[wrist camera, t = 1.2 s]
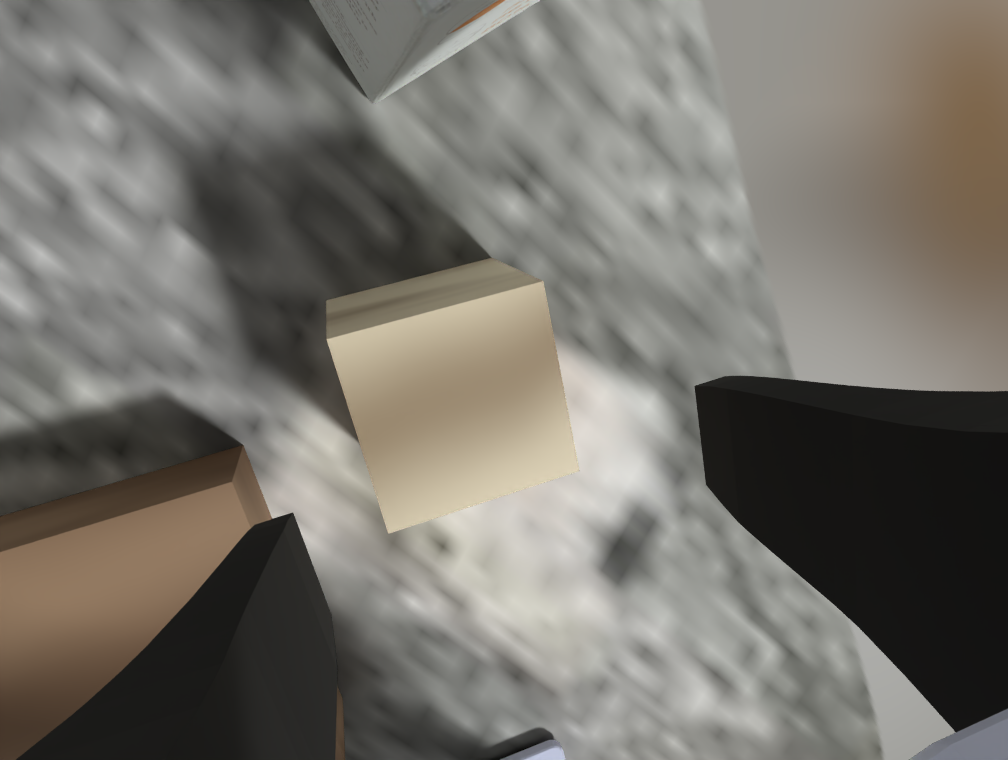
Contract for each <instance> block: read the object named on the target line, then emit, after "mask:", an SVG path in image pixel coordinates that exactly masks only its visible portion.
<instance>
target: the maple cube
mask: <svg viewBox="0 0 1008 760" xmlns="http://www.w3.org/2000/svg"><path fill="white" fill-rule="evenodd" d="M326 337H327V342H328V346H329V349H330V352H331V355H332V358H333V361H334V364H335V368H336V371H337V374H338V377H339V380H340V383H341V386H342V389H343V393H344V396H345V399H346V402H347V405H348V408H349V411H350V415H351V418H352V421H353V424H354V427H355V430H356V433H357V437H358V440H359V443H360V446H361V449H362V452H363V455H364V458H365V462H366V465H367V468H368V471H369V474H370V477H371V480H372V484H373V487H374V490H375V493H376V496H377V499H378V502H379V506H380V509H381V512H382V515H383V518H384V521H385V524H386V528H387V531H388V534H389V533H392V532H395V531H398V530H401V529H404V528H407V527H410V526H413V525H416V524H419V523H422V522H425V521H428V520H432V519H435V518H438V517H441V516H444V515H447V514H450V513H453V512H456V511H459V510H462V509H465V508H468V507H471V506H474V505H477V504H480V503H483V502H486V501H490V500H493V499H496V498H499V497H502V496H505V495H508V494H511V493H514V492H517V491H520V490H523V489H526V488H529V487H532V486H535V485H538V484H541V483H544V482H548V481H551V480H554V479H557V478H560V477H563V476H566V475H569V474H572V473H575V472H578V471H579V466H578V461H577V456H576V450H575V445H574V440H573V435H572V429H571V424H570V419H569V414H568V408H567V403H566V398H565V393H564V387H563V382H562V377H561V372H560V367H559V361H558V356H557V351H556V346H555V340H554V335H553V330H552V325H551V319H550V314H549V309H548V304H547V299H546V293H545V288H544V283H543V281H542V280H539V279H537V278H535V277H533V276H531V275H528V274H526V273H524V272H522V271H520V270H517V269H515V268H513V267H511V266H509V265H506V264H504V263H502V262H500V261H498V260H496V259H493V258H489V259H485V260H481V261H477V262H473V263H469V264H466V265H462V266H458V267H454V268H450V269H446V270H442V271H438V272H435V273H431V274H427V275H423V276H419V277H415V278H411V279H407V280H403V281H400V282H396V283H392V284H388V285H384V286H380V287H376V288H372V289H369V290H365V291H361V292H357V293H353V294H349V295H345V296H341V297H338V298H334V299H330V300H326Z"/></svg>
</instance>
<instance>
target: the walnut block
mask: <svg viewBox="0 0 1008 760" xmlns="http://www.w3.org/2000/svg"><path fill="white" fill-rule="evenodd" d="M271 519H272V517H271V515H270V512H269V510H268V507H267V505H266V502H265V499H264V497H263V494H262V492H261V489H260V487H259V484H258V482H257V479H256V476H255V474H254V471H253V469H252V466H251V464H250V461H249V459H248V456H247V453H246V451H245V448H244V446H243V445H241V446H238V447H235V448H231V449H228V450H224V451H221V452H218V453H214V454H211V455H207V456H204V457H201V458H197V459H194V460H190V461H187V462H184V463H180V464H177V465H173V466H170V467H167V468H163V469H160V470H156V471H153V472H150V473H146V474H143V475H139V476H136V477H133V478H129V479H126V480H122V481H119V482H116V483H112V484H109V485H105V486H102V487H99V488H95V489H92V490H88V491H85V492H82V493H78V494H75V495H71V496H68V497H65V498H61V499H58V500H54V501H51V502H47V503H44V504H41V505H37V506H34V507H30V508H27V509H24V510H20V511H17V512H13V513H10V514H7V515H3V516H0V760H16V759H17V758H18V757H20V756H21V755H22V754H23V753H25V752H26V751H27V750H28V749H30V748H31V747H32V746H33V745H35V744H36V743H37V742H38V741H40V740H41V739H42V738H43V737H45V736H46V735H47V734H48V733H50V732H51V731H52V730H53V729H55V728H56V727H57V726H59V725H60V724H61V723H62V722H64V721H65V720H66V719H67V718H69V717H70V716H71V715H72V714H74V713H75V712H76V711H77V710H78V709H79V708H80V707H82V706H83V705H84V704H85V703H86V702H87V701H89V700H90V699H91V698H92V697H93V696H94V695H95V694H96V693H97V692H99V691H100V690H101V689H102V688H103V687H104V686H105V685H106V684H107V683H108V682H110V681H111V680H112V679H113V678H114V677H115V676H116V675H117V674H118V673H119V672H121V671H122V670H123V669H124V668H125V667H126V666H127V665H128V664H129V663H130V662H131V661H132V660H133V659H134V658H135V657H136V656H137V655H138V654H139V653H140V652H141V651H142V650H143V649H144V648H145V647H146V646H147V645H148V644H149V643H150V642H151V641H152V640H153V639H154V638H155V636H156V635H157V634H158V633H159V632H160V631H161V630H162V629H163V628H164V627H165V626H166V625H167V624H168V622H169V621H170V620H171V619H172V618H173V617H174V616H175V615H176V614H177V613H178V612H179V611H180V610H181V608H182V607H183V606H184V605H185V604H186V603H187V602H188V601H189V600H190V599H191V598H192V596H193V595H194V594H195V593H196V592H197V591H198V589H199V588H200V587H201V586H202V585H203V583H204V582H205V581H206V580H207V579H208V578H209V576H210V575H211V574H212V573H213V572H214V570H215V569H216V568H217V567H218V566H219V564H220V563H221V562H222V561H223V560H224V558H225V557H226V556H227V555H228V554H229V552H230V551H231V550H232V549H233V548H234V546H235V545H236V544H237V543H238V542H239V541H240V539H241V538H242V537H243V536H244V535H245V534H246V533H247V532H248V530H249V529H251V528H252V527H253V526H254V525H255V524H258V523H261V522H265V521H268V520H271ZM335 760H345V742H344V717H343V699H342V696H341V694H340V691H339V689H338V686H337V717H336V751H335Z"/></svg>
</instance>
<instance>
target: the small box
mask: <svg viewBox="0 0 1008 760" xmlns="http://www.w3.org/2000/svg"><path fill="white" fill-rule="evenodd" d="M538 1H540V0H309V2H310V3H311V5H312V7H313V8H314V10H315V12H316V13H317V15H318V17H319V18H320V20H321V22H322V23H323V25H324V27H325V28H326V30H327V32H328V33H329V35H330V37H331V38H332V40H333V42H334V43H335V45H336V47H337V48H338V50H339V51H340V53H341V55H342V56H343V58H344V60H345V61H346V63H347V65H348V66H349V68H350V70H351V71H352V73H353V74H354V76H355V78H356V79H357V81H358V82H359V84H360V86H361V87H362V89H363V90H364V92H365V94H366V95H367V97H368V99H369V100H370V101H371V102H372V103H375V104H376V103H378V102H380V101H381V100H383V99H384V98H386V97H387V96H389V95H390V94H392V93H393V92H395V91H396V90H398V89H400V88H401V87H403V86H405V85H406V84H408V83H409V82H411V81H413V80H414V79H416V78H417V77H419V76H420V75H422V74H424V73H425V72H427V71H428V70H430V69H431V68H433V67H435V66H436V65H438V64H439V63H441V62H443V61H444V60H446V59H447V58H449V57H450V56H452V55H454V54H455V53H457V52H458V51H460V50H462V49H463V48H465V47H466V46H468V45H469V44H471V43H473V42H474V41H476V40H477V39H479V38H481V37H482V36H484V35H485V34H487V33H488V32H490V31H492V30H493V29H495V28H496V27H498V26H500V25H501V24H503V23H504V22H506V21H508V20H509V19H511V18H512V17H514V16H516V15H517V14H519V13H521V12H522V11H524V10H525V9H527V8H529V7H530V6H532V5H533V4H535V3H537V2H538Z"/></svg>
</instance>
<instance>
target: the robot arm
mask: <svg viewBox="0 0 1008 760" xmlns="http://www.w3.org/2000/svg"><path fill="white" fill-rule="evenodd" d="M695 393H696V402H697V411H698V419H699V428H700V436H701V445H702V453H703V462H704V471H705V479H706V485H707V486H708V488H709V489H710V490H711V491H712V492H713V494H714V495H715V496H716V497H717V498H718V500H719V501H720V502H721V503H722V504H723V506H724V507H725V508H726V509H727V510H728V511H729V512H730V513H731V515H732V516H733V517H734V518H735V519H736V520H737V521H738V522H739V523H740V524H741V525H742V526H743V527H744V528H745V529H746V530H747V531H748V532H750V533H751V534H752V535H753V536H754V537H755V538H757V539H758V540H759V541H760V542H761V543H762V544H763V545H765V546H766V547H767V548H768V549H769V550H770V551H771V552H773V553H774V554H775V555H776V556H777V557H779V558H780V559H781V560H782V561H783V562H784V563H786V564H787V565H788V566H789V567H790V568H792V569H793V570H794V571H795V572H796V573H797V574H799V575H800V576H801V577H802V578H803V579H805V580H806V581H807V582H808V583H809V584H810V585H812V586H813V587H814V588H815V589H816V590H817V591H819V592H820V593H821V594H822V595H823V596H825V597H826V598H827V599H828V600H829V601H830V602H832V603H833V604H834V605H835V606H836V607H837V608H838V609H840V610H841V611H842V612H843V613H844V614H845V615H846V616H847V617H848V618H849V619H850V620H851V621H853V622H854V623H855V624H856V625H857V626H858V627H859V628H860V629H861V630H862V631H863V632H864V633H865V634H866V635H867V636H868V637H869V638H870V639H871V641H873V642H874V644H875V645H876V646H877V647H878V648H879V649H880V650H881V651H882V652H883V653H884V654H885V655H886V656H887V657H888V658H889V659H890V660H891V661H892V662H893V664H894V665H895V666H896V667H897V668H898V669H899V670H900V671H901V672H902V673H903V674H904V675H905V676H906V677H907V678H908V680H909V681H910V682H911V683H912V684H913V685H914V686H915V687H916V688H917V690H918V691H919V692H920V693H921V694H922V695H923V696H924V697H925V698H926V699H927V700H928V702H929V703H930V704H931V705H932V706H933V707H934V708H935V709H936V710H937V712H938V713H939V714H940V715H941V716H942V717H943V718H944V719H945V721H946V722H947V723H948V724H949V725H950V726H951V727H952V728H953V729H954V731H955V732H956V733H954V734H952V735H950V736H948V737H945V738H943V739H941V740H939V741H937V742H934V743H932V744H931V745H929V746H928V747H927V748H925V749H924V750H922V751H921V752H919V753H918V754H917V755H915V756H914V757H912V758H911V759H909V760H1008V391H996V392H973V391H960V392H959V391H956V392H955V391H917V390H901V389H900V390H899V389H886V388H871V387H860V386H847V385H838V384H828V383H818V382H809V381H799V380H790V379H780V378H769V377H755V376H725V377H722V378H718V379H715V380H712V381H709V382H706V383H703V384H699V385H696V386H695ZM336 717H337V660H336V650H335V641H334V633H333V624H332V616H331V613H330V610H329V607H328V605H327V602H326V599H325V597H324V594H323V591H322V589H321V586H320V583H319V581H318V578H317V575H316V573H315V570H314V567H313V565H312V562H311V559H310V557H309V554H308V551H307V549H306V546H305V543H304V541H303V538H302V535H301V533H300V530H299V527H298V524H297V522H296V519H295V516H294V514H293V513H290V514H287V515H284V516H280V517H277V518H274V519H271V520H268V521H265V522H261V523H258V524H255V525H254V526H253V527H252V528H251V529H249V530H248V532H247V533H246V534H245V535H244V536H243V537H242V538H241V539H240V541H239V542H238V543H237V544H236V545H235V546H234V548H233V549H232V550H231V551H230V552H229V554H228V555H227V556H226V557H225V558H224V560H223V561H222V562H221V563H220V564H219V566H218V567H217V568H216V569H215V570H214V572H213V573H212V574H211V575H210V576H209V578H208V579H207V580H206V581H205V582H204V583H203V585H202V586H201V587H200V588H199V589H198V591H197V592H196V593H195V594H194V595H193V596H192V598H191V599H190V600H189V601H188V602H187V603H186V604H185V605H184V606H183V607H182V608H181V610H180V611H179V612H178V613H177V614H176V615H175V616H174V617H173V618H172V619H171V620H170V621H169V622H168V624H167V625H166V626H165V627H164V628H163V629H162V630H161V631H160V632H159V633H158V634H157V635H156V636H155V638H154V639H153V640H152V641H151V642H150V643H149V644H148V645H147V646H146V647H145V648H144V649H143V650H142V651H141V652H140V653H139V654H138V655H137V656H136V657H135V658H134V659H133V660H132V661H131V662H130V663H129V664H128V665H127V666H126V667H125V668H124V669H123V670H122V671H121V672H119V673H118V674H117V675H116V676H115V677H114V678H113V679H112V680H111V681H110V682H108V683H107V684H106V685H105V686H104V687H103V688H102V689H101V690H100V691H99V692H97V693H96V694H95V695H94V696H93V697H92V698H91V699H90V700H89V701H87V702H86V703H85V704H84V705H83V706H82V707H80V708H79V709H78V710H77V711H76V712H75V713H74V714H72V715H71V716H70V717H69V718H67V719H66V720H65V721H64V722H62V723H61V724H60V725H59V726H57V727H56V728H55V729H53V730H52V731H51V732H50V733H48V734H47V735H46V736H45V737H43V738H42V739H41V740H40V741H38V742H37V743H36V744H35V745H33V746H32V747H31V748H30V749H28V750H27V751H26V752H25V753H23V754H22V755H21V756H20V757H18V758H17V759H16V760H335V751H336ZM500 760H565V756H564V752H563V749H562V747H561V745H560V743H559V742H558V741H556V740H548V741H545V742H542V743H540V744H537V745H535V746H532V747H530V748H527V749H525V750H522V751H520V752H518V753H515V754H513V755H510V756H508V757H505V758H503V759H500Z"/></svg>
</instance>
